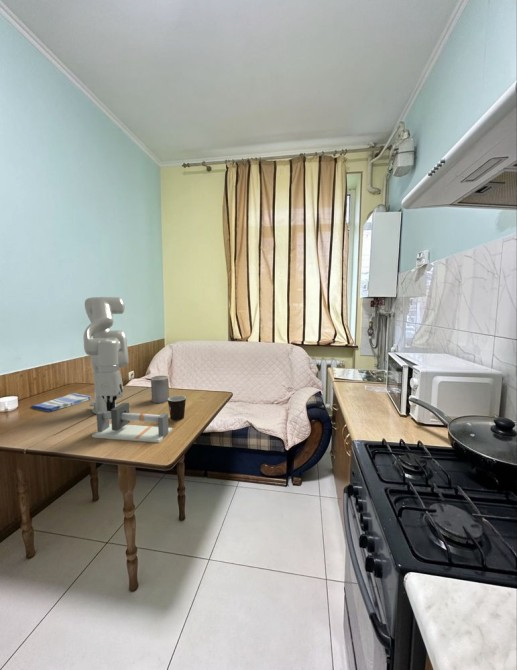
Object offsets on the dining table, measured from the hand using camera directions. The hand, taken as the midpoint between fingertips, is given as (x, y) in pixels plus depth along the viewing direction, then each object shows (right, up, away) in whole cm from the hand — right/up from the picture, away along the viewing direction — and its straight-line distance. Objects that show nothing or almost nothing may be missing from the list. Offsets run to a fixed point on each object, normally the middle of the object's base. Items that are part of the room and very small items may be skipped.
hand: (111, 410), depth 127 cm
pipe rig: (+10, -10, 0) cm, 14 cm away
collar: (+4, -7, 0) cm, 8 cm away
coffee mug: (+24, -9, +16) cm, 30 cm away
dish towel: (-46, -7, +38) cm, 60 cm away
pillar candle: (+7, -6, +43) cm, 44 cm away
